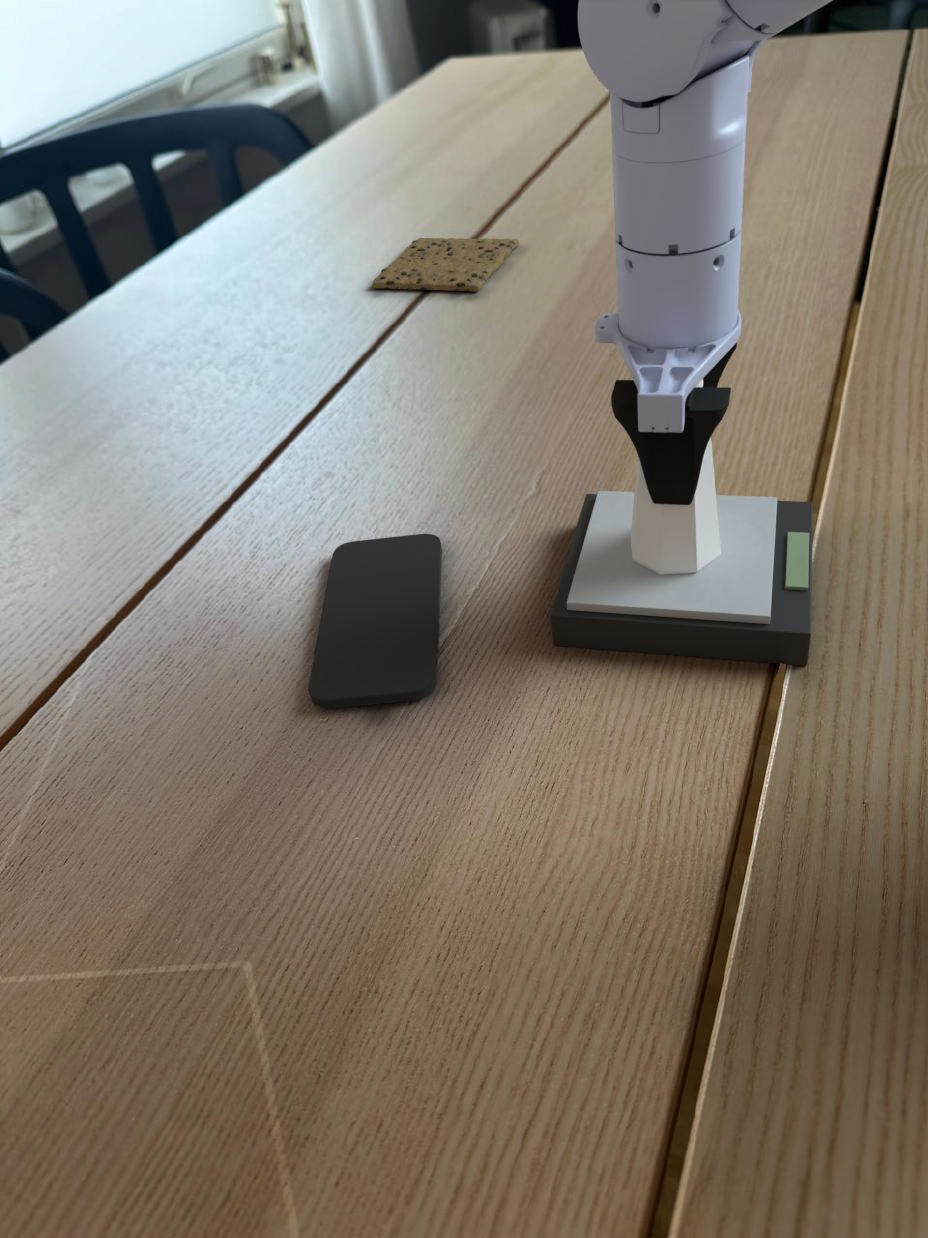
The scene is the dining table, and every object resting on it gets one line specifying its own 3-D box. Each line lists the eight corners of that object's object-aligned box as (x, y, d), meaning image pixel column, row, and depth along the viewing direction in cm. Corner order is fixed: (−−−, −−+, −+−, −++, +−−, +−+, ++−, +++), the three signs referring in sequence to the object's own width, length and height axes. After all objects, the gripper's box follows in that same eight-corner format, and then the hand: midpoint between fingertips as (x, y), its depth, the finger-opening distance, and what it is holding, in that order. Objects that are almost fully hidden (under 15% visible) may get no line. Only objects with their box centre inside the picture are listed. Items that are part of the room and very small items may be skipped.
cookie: (521, 242, 104) (520, 233, 103) (479, 292, 96) (478, 282, 95) (419, 241, 108) (417, 232, 107) (371, 288, 100) (369, 279, 99)
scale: (809, 532, 61) (814, 493, 60) (807, 666, 53) (812, 625, 51) (587, 522, 65) (585, 485, 63) (553, 645, 57) (549, 607, 55)
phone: (442, 531, 66) (435, 690, 54) (443, 540, 66) (437, 700, 55) (333, 542, 66) (304, 702, 55) (336, 552, 67) (308, 712, 55)
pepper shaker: (694, 510, 60) (697, 343, 53) (740, 559, 56) (750, 385, 49) (612, 536, 59) (604, 370, 52) (653, 588, 55) (651, 415, 48)
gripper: (614, 180, 52) (623, 408, 60) (563, 301, 41) (582, 554, 50) (754, 173, 50) (741, 410, 58) (736, 298, 39) (724, 562, 48)
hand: (676, 477), depth 54 cm, fingers closed on pepper shaker, 4 cm apart
